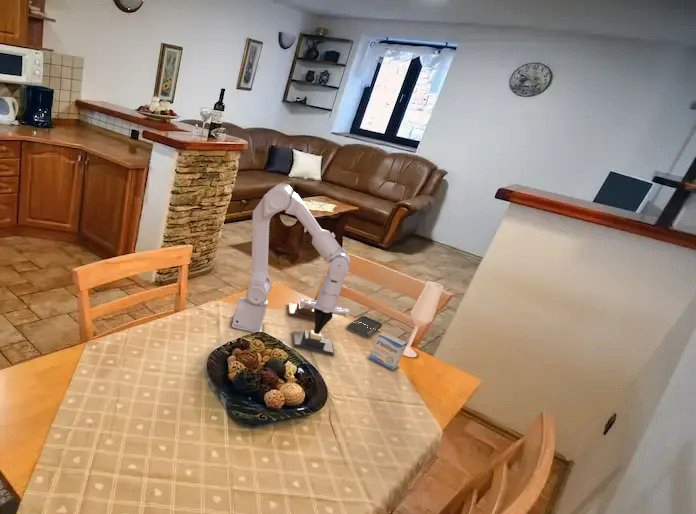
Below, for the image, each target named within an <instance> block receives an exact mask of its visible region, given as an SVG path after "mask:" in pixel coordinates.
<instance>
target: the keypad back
mask: <svg viewBox="0 0 696 514" xmlns="http://www.w3.org/2000/svg"><path fill="white" fill-rule="evenodd" d="M287 311H288V316H289V317H293V318H297V319H302V320H306V321H310V322H314V323H315V313H314V309H312V310H310V309H305V308H302V307H300V301H298V302H297V304H295V303H291V302H288V304H287Z"/></svg>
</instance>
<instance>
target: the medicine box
mask: <svg viewBox="0 0 696 514" xmlns="http://www.w3.org/2000/svg"><path fill="white" fill-rule="evenodd" d="M375 339H376V340H375V341H374V344H373V346H372V348H371V351H370V354H369V356H368V359H369V360H371V361H373V362H375V363H377V364H379V365H381V366H383V367H385V368H387V369H389V370H391V371H392V370H395V369H396V368H397V367H398V366H399V365H400V362H401V359H402V358H403V356H404V355H403V353H404V350H405V348H406V346H407V344H408V341H405V340H403V339H401V338H399V337H396V336H394V335H392V334H391V333H388V332H386V331H382V332H380V333H379V334H377V337H376V338H375Z"/></svg>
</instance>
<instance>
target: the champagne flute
mask: <svg viewBox="0 0 696 514" xmlns="http://www.w3.org/2000/svg"><path fill="white" fill-rule="evenodd" d="M443 289H444V285H442V284H441V283H438V282H436V281H431V280H428V281H427V282H426V283H425V286H424V287H423V289H422V291H421V293H420V294H419V297H418V298H417V300H416V302H415V304H414V305H413V308H412V310H411V311H410V319H411V321H412V323H413V324H414V328H413V330H412V333H411V334H410V337H409V340H408V341H407V343H408V344H407V346H406V348H405V350H404V353H403V355H402V356H405V357H408V358H415V357H417V355H418V354H417V353H416V352H415V350H414V349H413V348H412V344H413V342H414V340H415V337H416V335H417V333H418V331H419V329H420V327H424V326H426V325H429V324H430V323H431V322H433V319H434V317H435V314H436V310H437V308H438V305H439V302H440V299H441V295H442V292H443Z"/></svg>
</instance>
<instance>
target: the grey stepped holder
mask: <svg viewBox="0 0 696 514" xmlns="http://www.w3.org/2000/svg"><path fill="white" fill-rule="evenodd" d="M309 333H310V330H306V329H304V331H303V332H300V331H295V330H293V332H292V341H293V342H292V345H293V348H296V349H301V350H305V351H310V352H314V353H318V354H323V355H327V356H331V357H333V356H334V354H335V351H334V347H333V342H332V339H330V338H326V337H325V334H323V333H321V340H316V339H312V338H310V336H309Z"/></svg>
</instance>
